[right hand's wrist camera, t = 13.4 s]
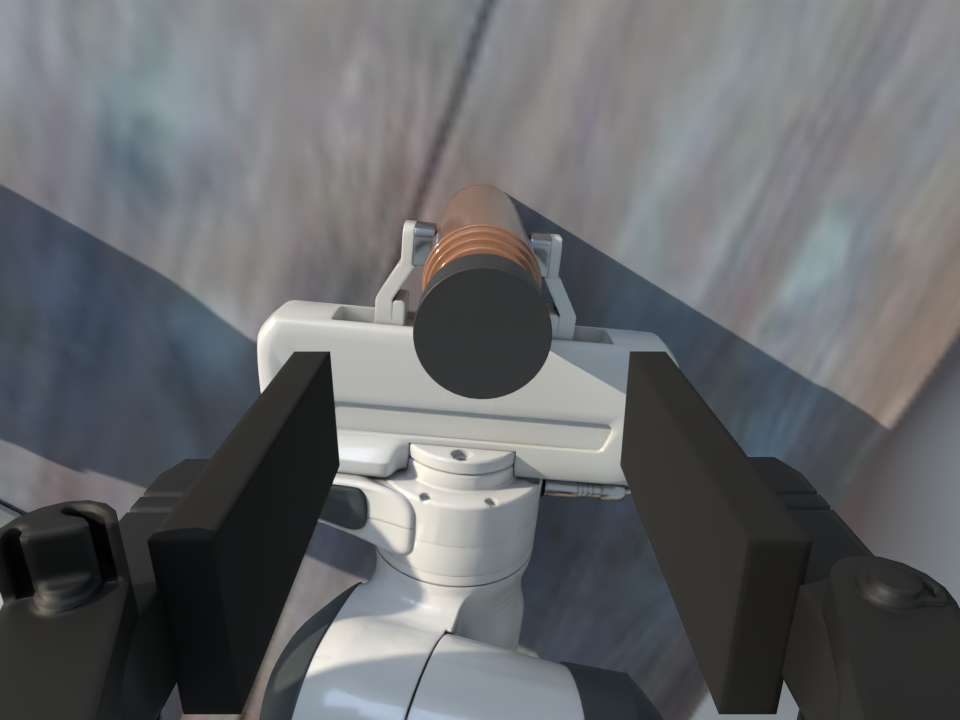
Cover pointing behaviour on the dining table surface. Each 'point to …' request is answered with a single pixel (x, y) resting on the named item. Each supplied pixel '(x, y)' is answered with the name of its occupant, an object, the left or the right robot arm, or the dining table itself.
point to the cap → (482, 327)
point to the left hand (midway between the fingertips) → (482, 228)
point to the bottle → (481, 231)
